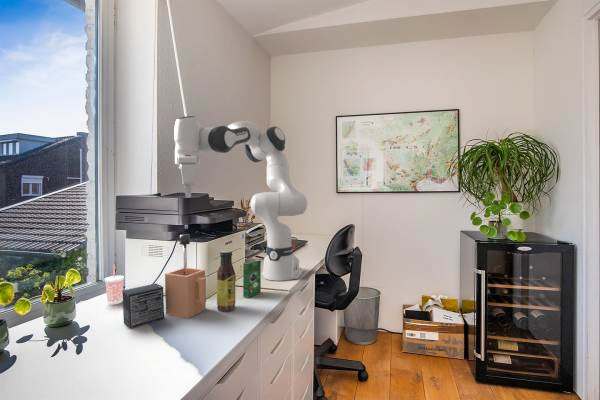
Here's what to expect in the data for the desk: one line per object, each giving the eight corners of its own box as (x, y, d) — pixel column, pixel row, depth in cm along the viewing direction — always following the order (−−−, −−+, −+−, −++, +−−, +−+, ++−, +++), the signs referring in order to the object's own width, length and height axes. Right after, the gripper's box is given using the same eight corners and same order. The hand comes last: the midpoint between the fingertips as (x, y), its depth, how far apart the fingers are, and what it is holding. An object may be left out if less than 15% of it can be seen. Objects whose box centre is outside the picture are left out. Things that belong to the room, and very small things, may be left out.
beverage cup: (101, 304, 118) (99, 265, 118) (115, 298, 124) (113, 261, 124) (115, 306, 117) (113, 266, 116) (128, 300, 123) (127, 262, 122)
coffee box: (255, 291, 133) (255, 258, 132) (261, 292, 131) (261, 259, 131) (242, 297, 126) (242, 262, 125) (248, 298, 124) (248, 263, 124)
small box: (157, 313, 110) (156, 282, 110) (165, 319, 106) (164, 286, 105) (122, 322, 103) (121, 289, 103) (129, 329, 98) (128, 294, 98)
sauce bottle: (231, 312, 111) (230, 253, 110) (213, 311, 112) (212, 253, 111) (238, 305, 117) (237, 249, 116) (222, 304, 118) (221, 249, 117)
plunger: (184, 280, 116) (183, 232, 115) (200, 282, 113) (199, 233, 112) (170, 286, 110) (169, 235, 109) (186, 288, 107) (185, 236, 106)
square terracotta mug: (185, 304, 118) (184, 267, 117) (213, 309, 113) (212, 270, 112) (165, 314, 109) (164, 273, 109) (195, 320, 105) (194, 277, 104)
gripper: (178, 161, 132) (179, 196, 133) (178, 157, 113) (179, 198, 113) (195, 162, 134) (195, 196, 135) (197, 158, 115) (198, 198, 116)
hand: (188, 197), depth 124 cm, fingers open, 8 cm apart
